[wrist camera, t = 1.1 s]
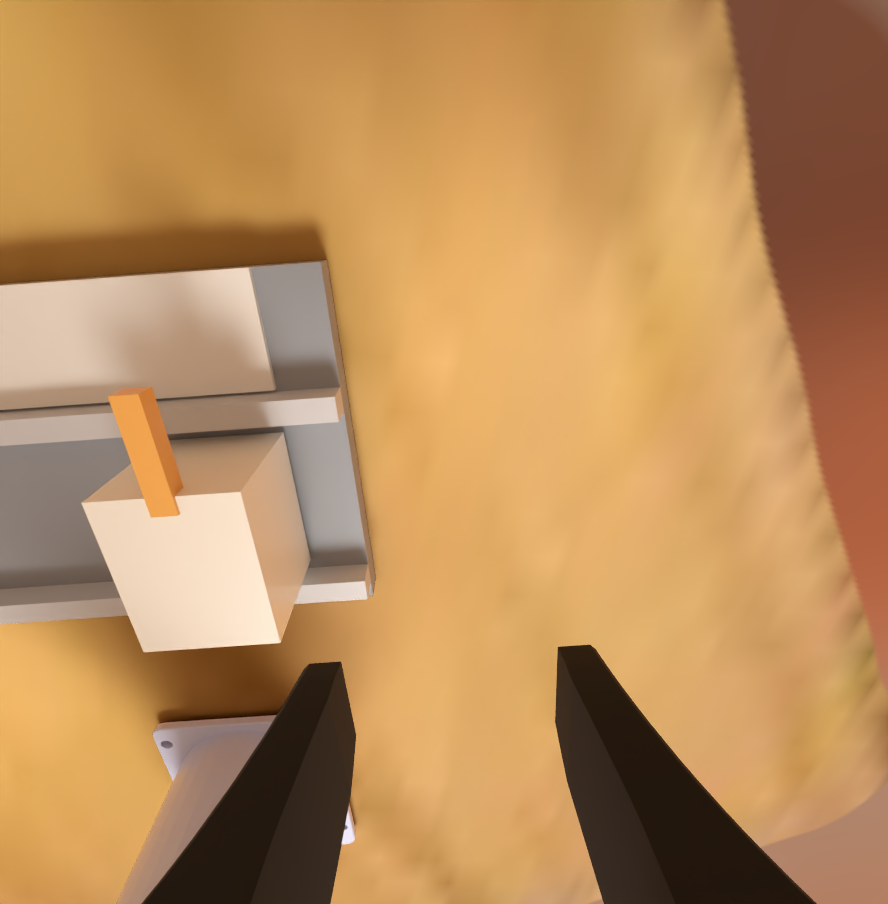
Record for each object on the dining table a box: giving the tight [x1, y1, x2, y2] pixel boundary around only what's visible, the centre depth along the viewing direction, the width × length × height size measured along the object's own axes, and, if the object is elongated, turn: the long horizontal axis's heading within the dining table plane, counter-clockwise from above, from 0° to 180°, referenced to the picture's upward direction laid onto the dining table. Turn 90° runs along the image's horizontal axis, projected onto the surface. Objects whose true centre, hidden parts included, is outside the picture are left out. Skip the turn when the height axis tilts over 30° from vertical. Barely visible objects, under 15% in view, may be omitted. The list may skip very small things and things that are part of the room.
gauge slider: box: [81, 387, 311, 652], centre depth 15 cm, size 8×4×4 cm, turn 4°
